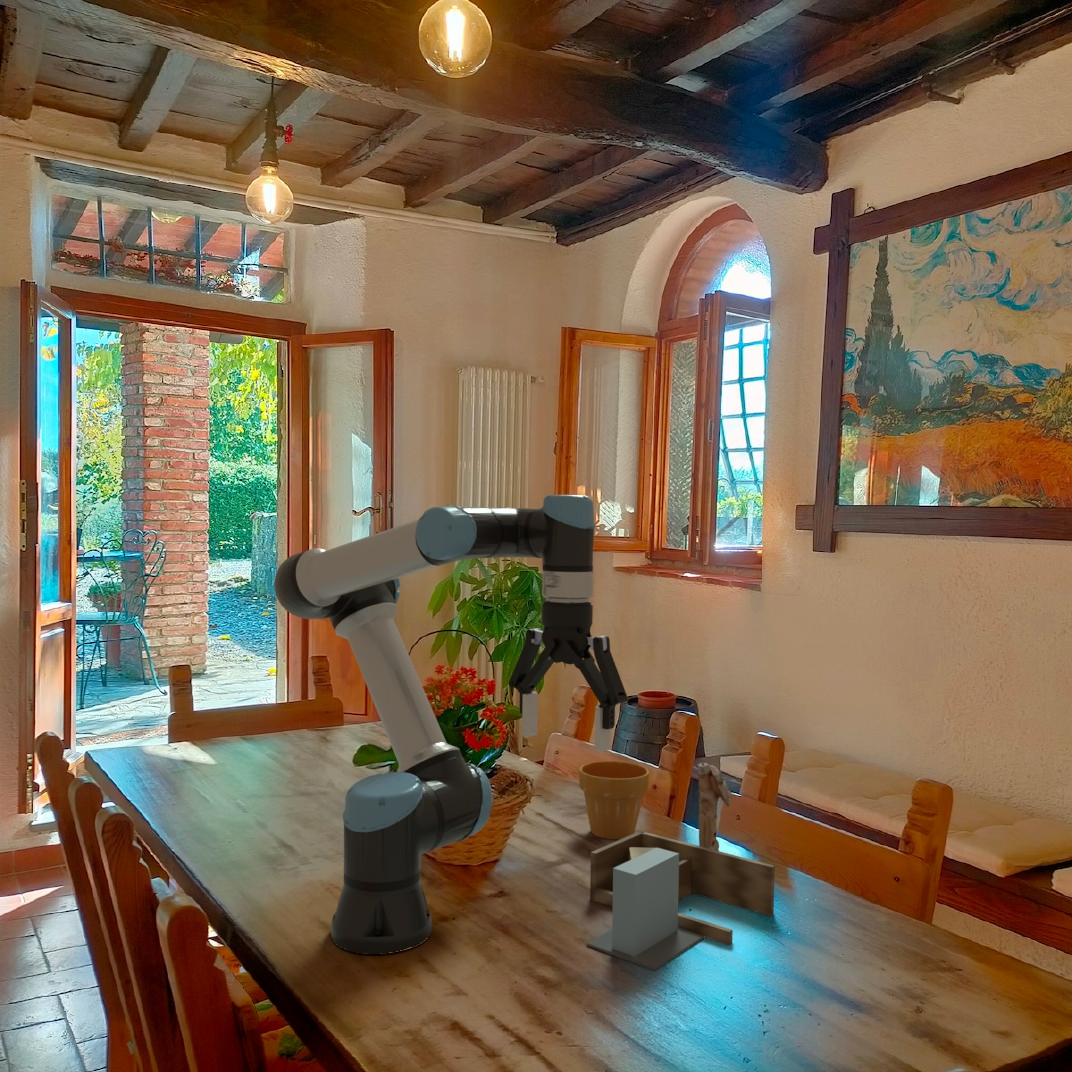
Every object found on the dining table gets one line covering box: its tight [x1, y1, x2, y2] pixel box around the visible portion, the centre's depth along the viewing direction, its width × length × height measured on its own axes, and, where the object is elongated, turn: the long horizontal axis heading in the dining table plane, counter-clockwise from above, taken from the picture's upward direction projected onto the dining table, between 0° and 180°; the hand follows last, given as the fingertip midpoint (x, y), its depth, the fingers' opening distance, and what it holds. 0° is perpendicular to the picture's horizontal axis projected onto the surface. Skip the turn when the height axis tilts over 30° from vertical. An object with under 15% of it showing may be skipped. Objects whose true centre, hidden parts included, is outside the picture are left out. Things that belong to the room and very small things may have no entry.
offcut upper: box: [629, 847, 655, 861], centre depth 165 cm, size 5×8×4 cm, turn 178°
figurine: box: [697, 762, 733, 851], centre depth 176 cm, size 10×8×20 cm
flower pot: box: [578, 760, 650, 840], centre depth 197 cm, size 14×14×13 cm
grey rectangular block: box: [611, 848, 679, 957], centre depth 146 cm, size 4×12×12 cm, turn 141°
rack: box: [589, 830, 776, 946], centre depth 160 cm, size 26×15×8 cm, turn 50°
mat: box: [586, 927, 705, 971], centre depth 147 cm, size 12×14×1 cm
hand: (564, 743), depth 143 cm, fingers open, 13 cm apart
